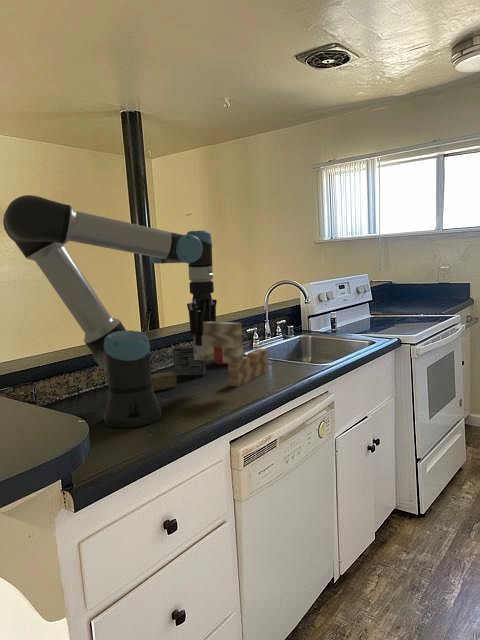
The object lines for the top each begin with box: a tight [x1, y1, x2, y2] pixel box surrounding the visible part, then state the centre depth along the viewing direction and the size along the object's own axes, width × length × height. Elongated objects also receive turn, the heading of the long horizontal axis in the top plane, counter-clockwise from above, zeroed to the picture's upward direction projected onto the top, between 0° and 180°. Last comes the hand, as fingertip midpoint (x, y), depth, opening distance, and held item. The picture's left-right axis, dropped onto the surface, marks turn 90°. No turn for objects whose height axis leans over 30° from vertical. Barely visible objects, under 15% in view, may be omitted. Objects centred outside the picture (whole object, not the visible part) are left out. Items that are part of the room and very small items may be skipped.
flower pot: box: [214, 347, 228, 365], centre depth 194 cm, size 11×11×10 cm
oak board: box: [227, 348, 270, 387], centre depth 168 cm, size 22×4×8 cm, turn 150°
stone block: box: [152, 371, 178, 392], centre depth 161 cm, size 6×12×5 cm, turn 121°
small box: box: [172, 345, 207, 378], centre depth 177 cm, size 11×6×10 cm, turn 84°
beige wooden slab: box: [192, 321, 244, 363], centre depth 152 cm, size 16×4×12 cm, turn 60°
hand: (204, 354), depth 155 cm, fingers closed on beige wooden slab, 3 cm apart
